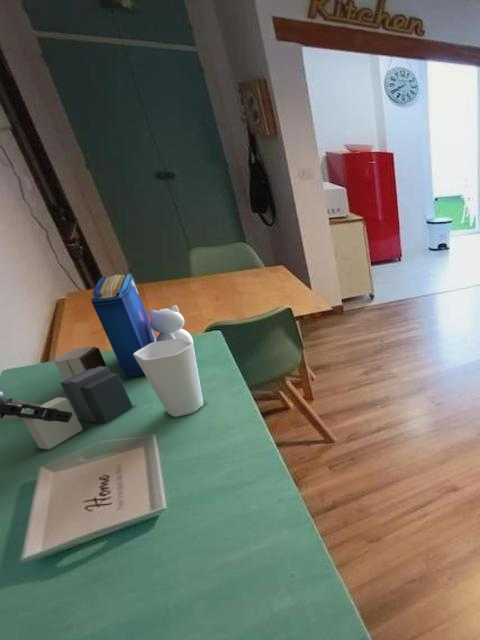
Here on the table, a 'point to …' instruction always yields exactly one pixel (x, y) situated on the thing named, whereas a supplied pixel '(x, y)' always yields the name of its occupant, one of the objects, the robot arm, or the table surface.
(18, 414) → the robot arm
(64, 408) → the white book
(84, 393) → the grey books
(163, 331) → the cat figurine
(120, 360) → the book
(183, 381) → the cup
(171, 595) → the table surface
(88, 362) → the grey brown block
